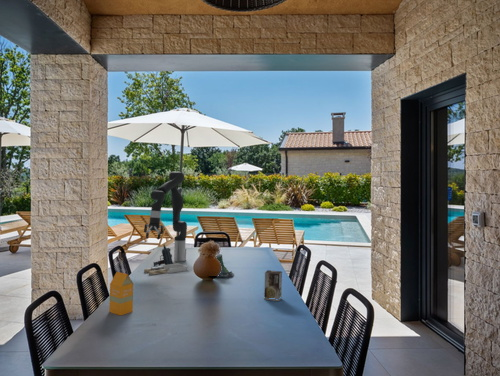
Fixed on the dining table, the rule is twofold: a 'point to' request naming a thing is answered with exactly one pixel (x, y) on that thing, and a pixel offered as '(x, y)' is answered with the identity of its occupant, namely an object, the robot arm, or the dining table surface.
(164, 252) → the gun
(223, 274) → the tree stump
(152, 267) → the dark gray rectangular block
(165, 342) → the dining table surface
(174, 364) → the dining table surface
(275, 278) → the coffee box
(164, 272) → the slotted rail
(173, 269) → the tray
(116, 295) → the orange juice
